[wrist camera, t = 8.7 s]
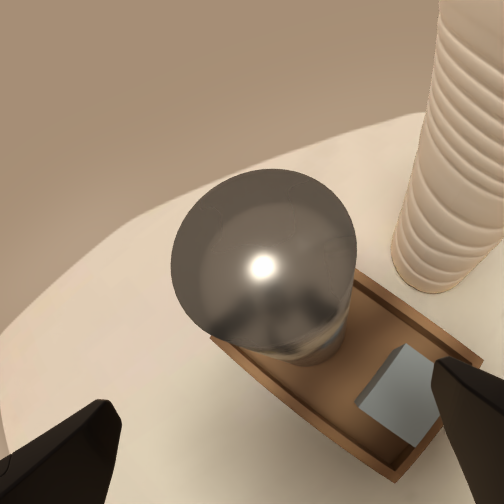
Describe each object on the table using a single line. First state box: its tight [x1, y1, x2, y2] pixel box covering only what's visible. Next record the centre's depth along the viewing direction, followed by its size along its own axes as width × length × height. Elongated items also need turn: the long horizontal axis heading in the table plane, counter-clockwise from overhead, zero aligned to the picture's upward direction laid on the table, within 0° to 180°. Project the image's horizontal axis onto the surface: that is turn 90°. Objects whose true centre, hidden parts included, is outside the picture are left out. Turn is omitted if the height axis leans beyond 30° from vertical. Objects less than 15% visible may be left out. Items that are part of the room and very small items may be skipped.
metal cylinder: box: [171, 169, 357, 367], centre depth 14 cm, size 5×5×13 cm
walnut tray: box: [210, 268, 484, 483], centre depth 18 cm, size 15×9×3 cm, turn 49°
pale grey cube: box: [354, 343, 440, 447], centre depth 15 cm, size 4×4×4 cm
